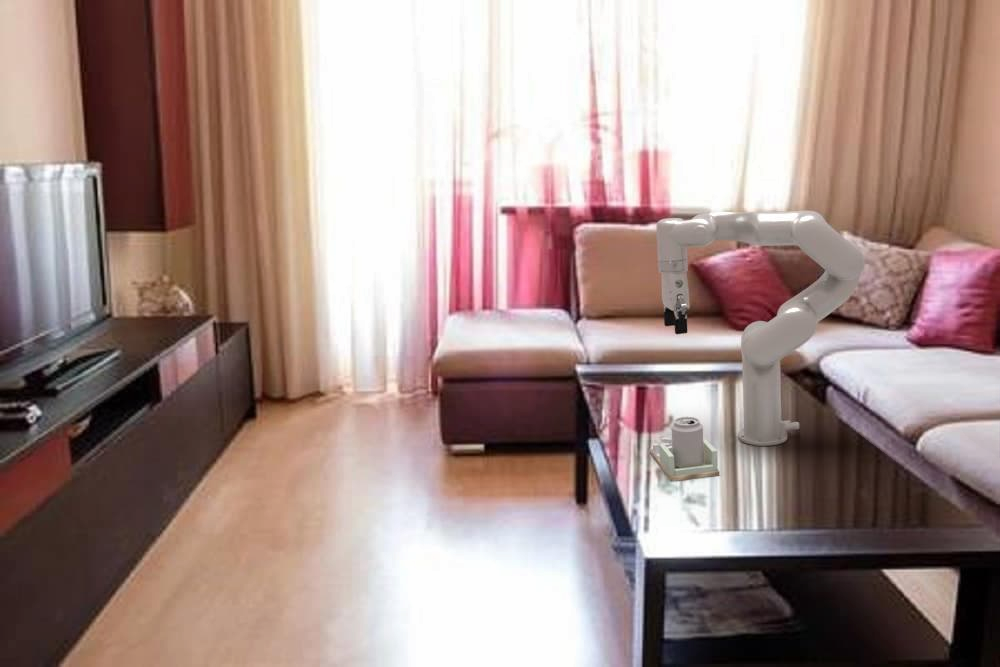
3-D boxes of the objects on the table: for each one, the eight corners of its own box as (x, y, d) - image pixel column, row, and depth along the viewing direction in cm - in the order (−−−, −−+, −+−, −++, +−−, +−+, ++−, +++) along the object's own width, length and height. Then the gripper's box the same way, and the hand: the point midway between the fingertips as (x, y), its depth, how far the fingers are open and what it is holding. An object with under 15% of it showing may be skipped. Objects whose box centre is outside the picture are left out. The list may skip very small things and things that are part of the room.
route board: (694, 447, 234) (694, 444, 233) (719, 475, 215) (719, 471, 214) (649, 453, 233) (649, 449, 232) (671, 481, 214) (671, 477, 213)
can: (704, 471, 215) (702, 424, 213) (673, 471, 217) (671, 425, 214) (703, 459, 222) (701, 414, 220) (673, 460, 224) (671, 415, 221)
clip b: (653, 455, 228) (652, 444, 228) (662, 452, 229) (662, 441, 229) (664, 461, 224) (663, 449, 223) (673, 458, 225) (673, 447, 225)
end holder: (705, 457, 224) (705, 438, 223) (718, 471, 215) (718, 451, 214) (659, 462, 223) (658, 444, 222) (670, 477, 214) (669, 457, 213)
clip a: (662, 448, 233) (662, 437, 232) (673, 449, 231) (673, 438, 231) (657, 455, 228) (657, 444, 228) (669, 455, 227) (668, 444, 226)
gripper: (697, 269, 223) (699, 335, 227) (677, 260, 240) (679, 321, 244) (668, 272, 223) (671, 338, 227) (650, 262, 240) (653, 324, 243)
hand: (675, 329), depth 235 cm, fingers open, 9 cm apart
